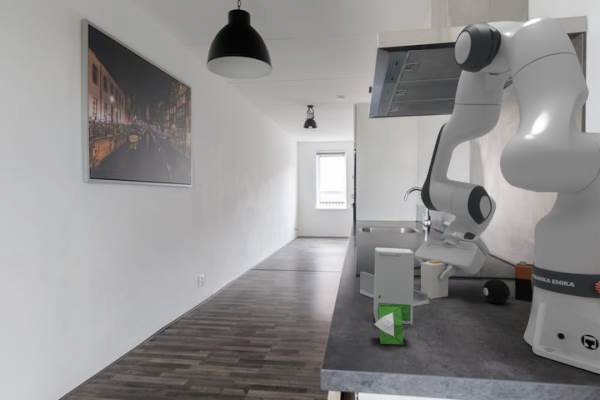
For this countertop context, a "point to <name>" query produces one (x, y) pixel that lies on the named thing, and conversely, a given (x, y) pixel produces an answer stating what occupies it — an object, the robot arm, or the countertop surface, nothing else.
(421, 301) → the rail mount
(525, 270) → the battery
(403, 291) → the skincare box
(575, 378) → the countertop surface
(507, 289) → the billiard ball
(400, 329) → the geometric puzzle
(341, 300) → the countertop surface
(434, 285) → the block
